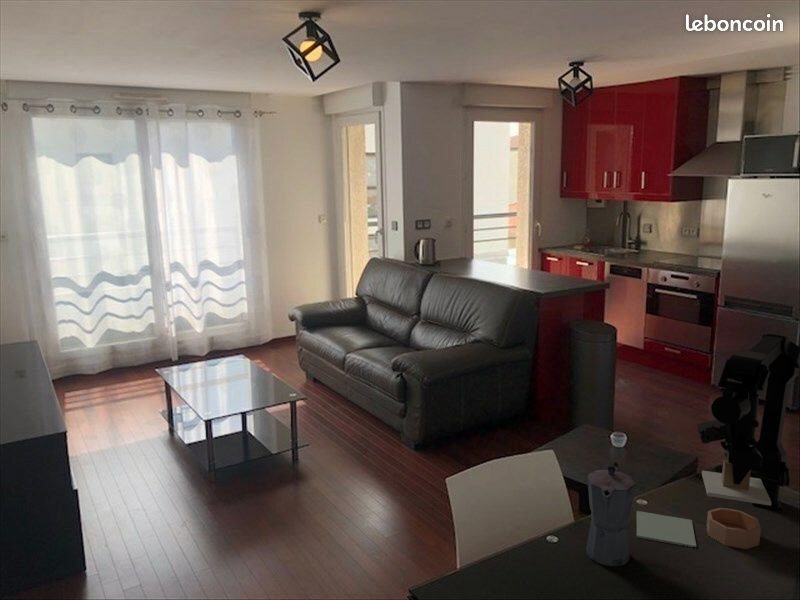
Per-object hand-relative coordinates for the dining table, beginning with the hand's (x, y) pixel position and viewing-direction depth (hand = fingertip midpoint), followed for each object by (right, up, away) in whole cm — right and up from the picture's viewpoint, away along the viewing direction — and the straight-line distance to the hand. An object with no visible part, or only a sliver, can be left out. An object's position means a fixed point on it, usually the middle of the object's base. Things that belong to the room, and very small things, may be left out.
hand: (735, 481), depth 138 cm
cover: (0, -2, 0) cm, 2 cm away
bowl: (0, -13, +2) cm, 13 cm away
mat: (-14, -12, +4) cm, 19 cm away
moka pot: (-30, -14, -6) cm, 34 cm away
